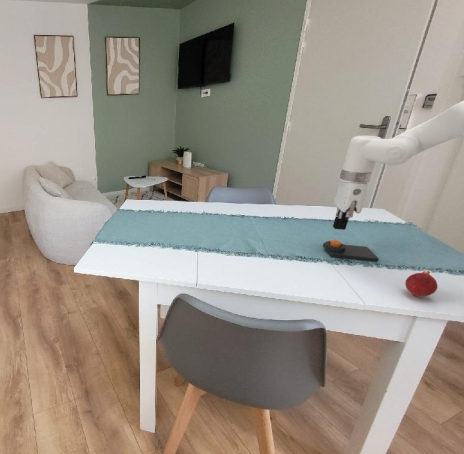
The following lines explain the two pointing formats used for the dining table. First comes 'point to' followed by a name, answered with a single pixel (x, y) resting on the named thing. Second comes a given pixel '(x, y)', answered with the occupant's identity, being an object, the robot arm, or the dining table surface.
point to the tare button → (335, 243)
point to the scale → (350, 252)
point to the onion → (421, 284)
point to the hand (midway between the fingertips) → (338, 228)
